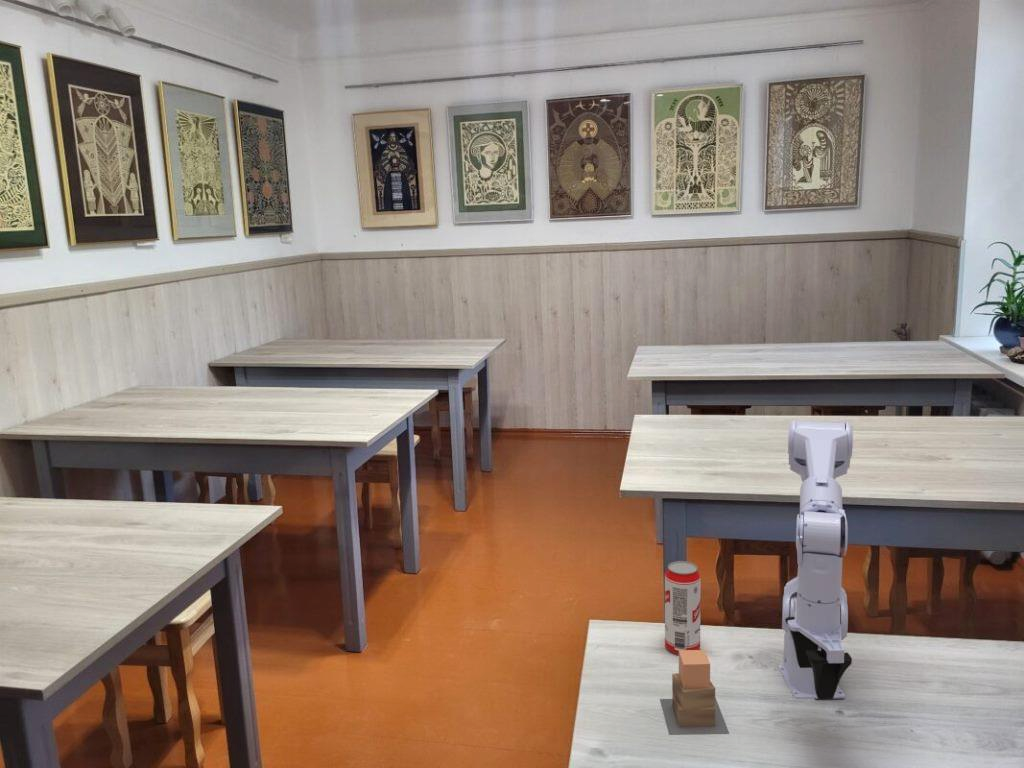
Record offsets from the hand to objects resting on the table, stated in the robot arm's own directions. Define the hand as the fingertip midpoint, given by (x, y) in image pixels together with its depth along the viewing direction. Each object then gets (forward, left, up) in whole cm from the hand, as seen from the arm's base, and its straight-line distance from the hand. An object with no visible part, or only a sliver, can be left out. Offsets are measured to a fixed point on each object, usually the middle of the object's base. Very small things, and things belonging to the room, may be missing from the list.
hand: (815, 681), depth 112 cm
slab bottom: (-7, -16, -10) cm, 20 cm away
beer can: (-27, -14, -11) cm, 32 cm away
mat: (-7, -16, -10) cm, 20 cm away
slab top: (-7, -16, -7) cm, 19 cm away
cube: (-7, -16, -4) cm, 18 cm away
